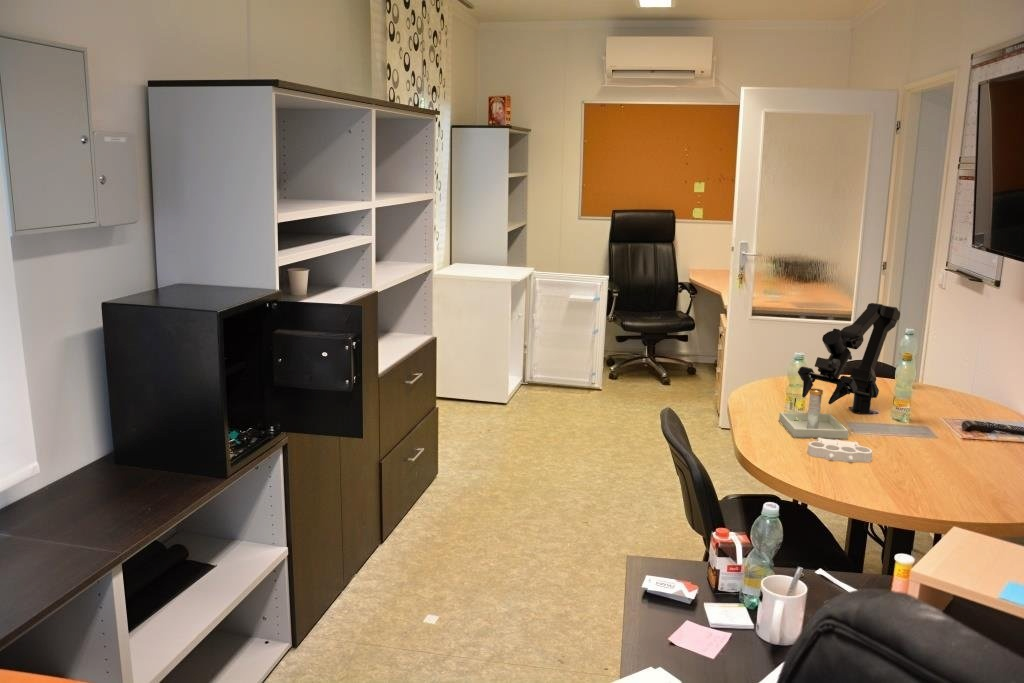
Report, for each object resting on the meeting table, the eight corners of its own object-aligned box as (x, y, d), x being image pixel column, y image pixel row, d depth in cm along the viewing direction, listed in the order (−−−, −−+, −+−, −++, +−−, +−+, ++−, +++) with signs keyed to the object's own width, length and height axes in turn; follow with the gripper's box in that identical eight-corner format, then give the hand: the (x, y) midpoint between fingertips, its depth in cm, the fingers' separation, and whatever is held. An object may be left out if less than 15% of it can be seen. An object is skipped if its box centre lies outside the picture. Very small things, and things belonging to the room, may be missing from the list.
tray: (779, 420, 276) (779, 412, 275) (829, 422, 275) (830, 413, 275) (793, 438, 259) (794, 429, 259) (847, 439, 259) (848, 430, 258)
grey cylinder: (807, 425, 270) (811, 387, 267) (820, 428, 268) (824, 389, 265) (804, 428, 267) (808, 390, 264) (817, 430, 264) (821, 392, 262)
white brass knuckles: (867, 451, 250) (873, 468, 237) (805, 444, 255) (808, 460, 241) (868, 440, 249) (875, 457, 236) (806, 434, 254) (809, 450, 241)
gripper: (803, 342, 272) (782, 380, 267) (857, 353, 258) (835, 393, 253) (813, 362, 278) (793, 398, 274) (866, 373, 265) (845, 412, 260)
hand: (815, 400), depth 265 cm, fingers open, 9 cm apart
